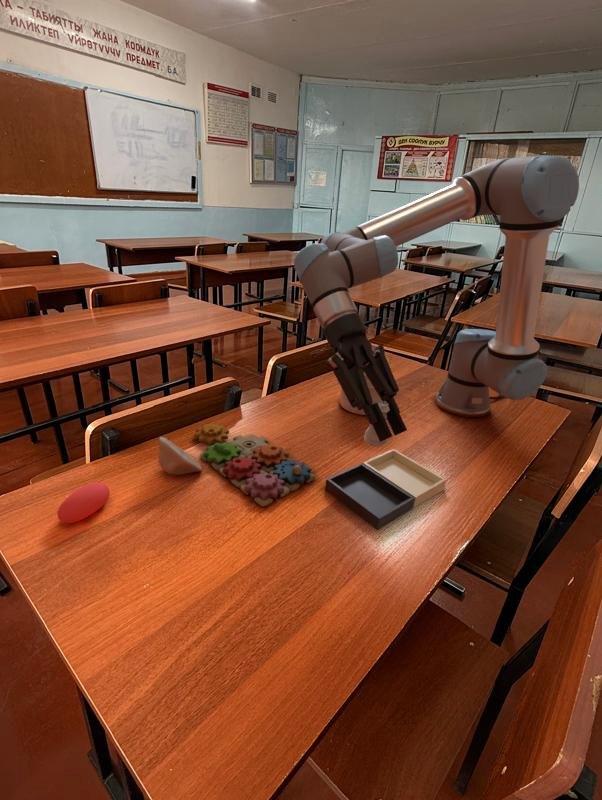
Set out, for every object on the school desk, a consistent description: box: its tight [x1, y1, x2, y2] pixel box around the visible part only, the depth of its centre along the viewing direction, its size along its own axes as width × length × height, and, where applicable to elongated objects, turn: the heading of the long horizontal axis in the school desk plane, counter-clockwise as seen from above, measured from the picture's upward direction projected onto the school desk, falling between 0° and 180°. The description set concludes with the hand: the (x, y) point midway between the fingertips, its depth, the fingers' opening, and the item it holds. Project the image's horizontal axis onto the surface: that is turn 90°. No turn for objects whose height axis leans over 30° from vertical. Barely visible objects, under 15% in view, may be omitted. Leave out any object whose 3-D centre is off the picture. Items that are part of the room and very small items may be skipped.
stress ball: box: [56, 481, 111, 524], centre depth 76 cm, size 5×9×6 cm, turn 145°
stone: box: [158, 436, 203, 476], centre depth 88 cm, size 10×7×10 cm
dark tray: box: [324, 462, 415, 530], centre depth 85 cm, size 10×14×2 cm
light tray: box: [362, 448, 447, 509], centre depth 92 cm, size 10×14×2 cm
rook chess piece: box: [363, 400, 390, 448], centre depth 80 cm, size 4×4×8 cm
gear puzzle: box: [193, 423, 316, 507], centre depth 94 cm, size 31×16×4 cm, turn 45°
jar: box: [339, 357, 392, 416], centre depth 120 cm, size 13×13×18 cm
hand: (393, 435), depth 78 cm, fingers closed on rook chess piece, 3 cm apart
